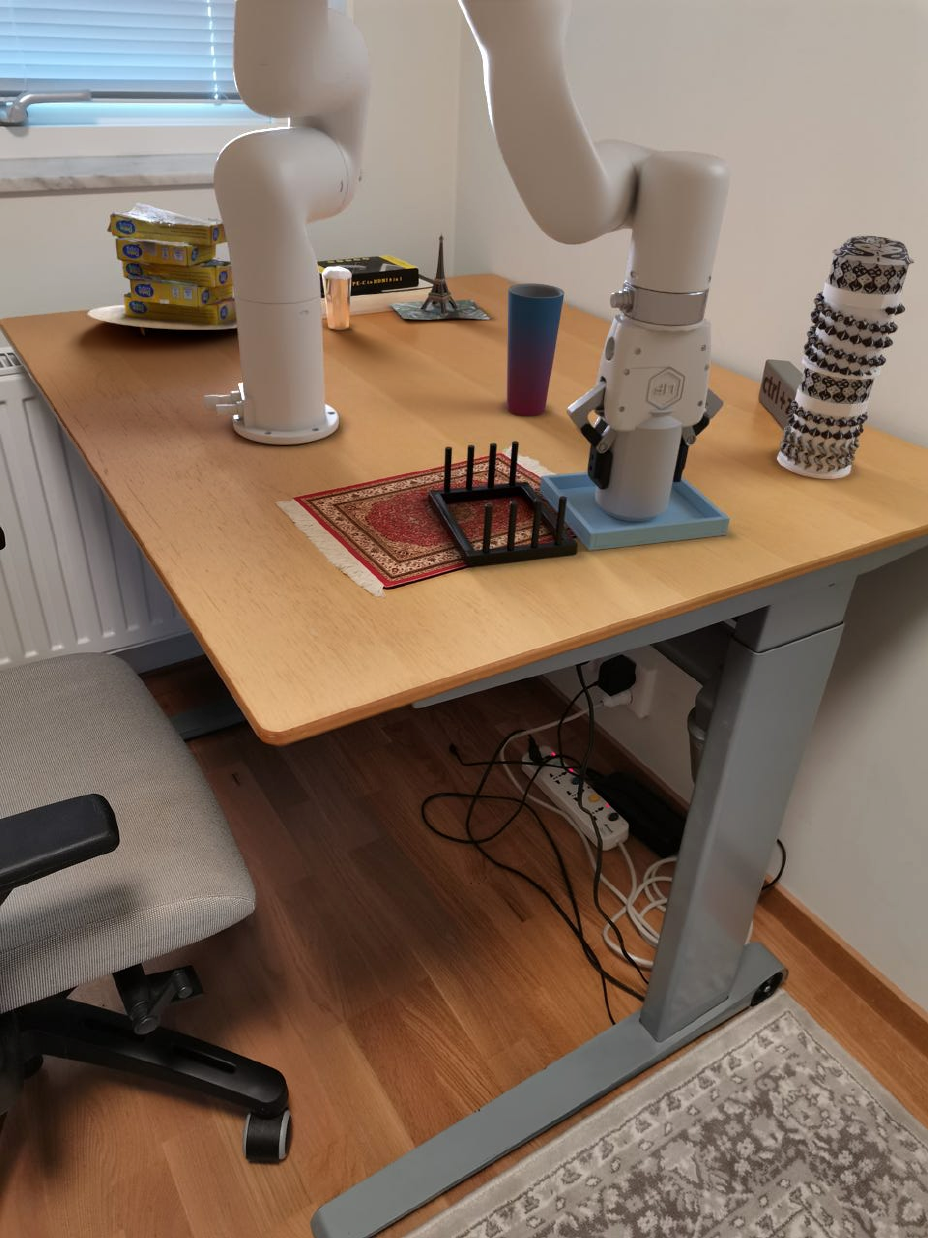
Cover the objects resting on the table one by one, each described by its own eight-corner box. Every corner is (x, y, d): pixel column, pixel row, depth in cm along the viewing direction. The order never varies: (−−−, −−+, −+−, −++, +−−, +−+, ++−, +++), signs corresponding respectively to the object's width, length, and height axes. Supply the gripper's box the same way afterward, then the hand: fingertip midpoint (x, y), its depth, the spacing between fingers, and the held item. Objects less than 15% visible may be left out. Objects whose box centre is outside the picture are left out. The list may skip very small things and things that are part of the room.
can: (676, 505, 95) (698, 395, 89) (649, 532, 90) (670, 418, 83) (612, 486, 99) (628, 378, 92) (581, 511, 93) (596, 399, 86)
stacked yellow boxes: (153, 299, 152) (138, 190, 143) (286, 318, 147) (279, 206, 137) (56, 339, 133) (30, 216, 123) (205, 363, 127) (190, 236, 118)
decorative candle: (829, 447, 112) (892, 231, 98) (869, 479, 104) (943, 250, 90) (760, 448, 110) (814, 230, 96) (796, 481, 103) (860, 249, 89)
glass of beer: (356, 332, 142) (354, 265, 137) (322, 330, 142) (319, 263, 137) (359, 323, 146) (358, 258, 140) (326, 322, 146) (323, 256, 140)
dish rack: (467, 567, 84) (470, 509, 80) (427, 500, 95) (429, 447, 91) (576, 554, 87) (584, 498, 83) (526, 491, 98) (531, 439, 94)
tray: (588, 551, 87) (591, 533, 86) (539, 491, 98) (541, 475, 97) (726, 534, 91) (730, 518, 90) (665, 479, 102) (668, 464, 101)
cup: (548, 421, 115) (561, 299, 106) (495, 414, 116) (504, 294, 107) (554, 402, 120) (567, 286, 112) (504, 397, 121) (513, 280, 113)
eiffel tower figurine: (472, 302, 160) (476, 221, 152) (490, 319, 152) (495, 234, 144) (389, 305, 156) (389, 222, 148) (403, 322, 148) (404, 235, 140)
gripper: (593, 319, 77) (570, 504, 87) (768, 311, 82) (728, 488, 92) (560, 296, 83) (542, 472, 93) (725, 290, 88) (691, 458, 98)
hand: (634, 479), depth 92 cm, fingers closed on can, 7 cm apart
